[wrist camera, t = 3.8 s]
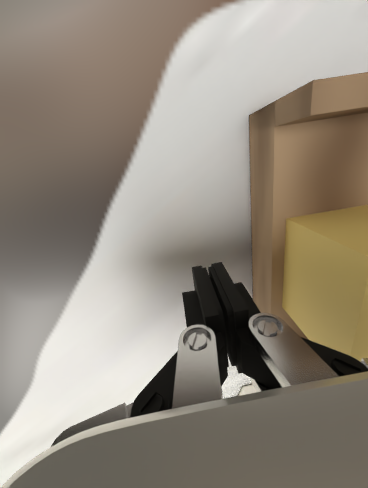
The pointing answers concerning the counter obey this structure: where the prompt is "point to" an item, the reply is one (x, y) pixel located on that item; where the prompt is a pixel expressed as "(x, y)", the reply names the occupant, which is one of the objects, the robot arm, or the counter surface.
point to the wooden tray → (303, 170)
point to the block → (329, 278)
